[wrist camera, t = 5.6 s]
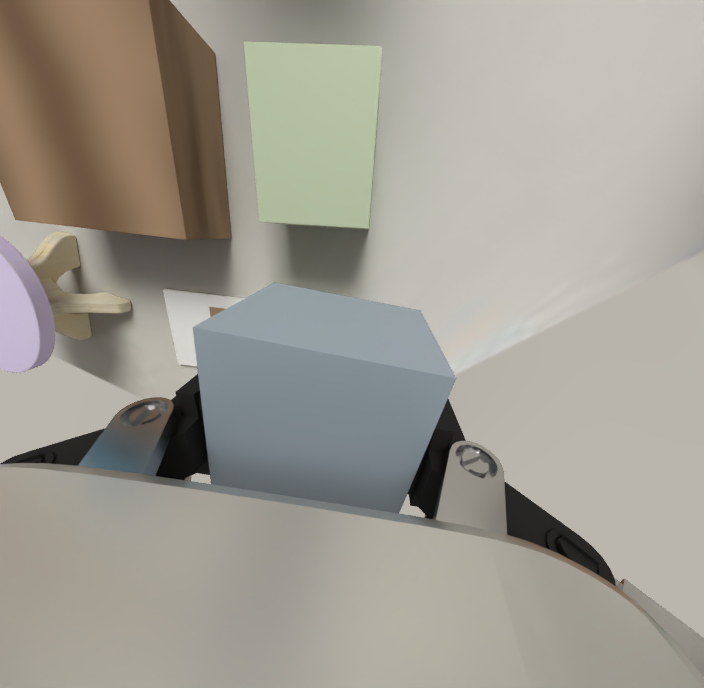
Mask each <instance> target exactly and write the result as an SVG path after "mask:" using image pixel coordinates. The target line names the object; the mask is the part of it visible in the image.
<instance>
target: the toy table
mask: <svg viewBox="0 0 704 688" xmlns="http://www.w3.org/2000/svg"><path fill="white" fill-rule="evenodd" d="M77 267H80V259H79V254H78V248H77V241H76V238H75V236H74V235H71V234H68V233H65V232H60V231H58V232H54V233H52V234H50V235H49V236H48V237H47V238H46V239H45V240H44V241H43V242H42V243H41V244H40V245H39V248H38V249H37V250H36V251H35V253H34V254H33V255H32V256H30V257H29V258H28V259H27V260H26V259H25V258H24V257H23V255H22V254H21V253H20V252H19V251H18V250H17V249H16V248H15V247H14V246H13V245H12V244H11V243H10V242H8V241H7V240H6V239H4V238H3V237H1V236H0V369H2V370H4V371H7V372H12V373H20V372H25V371H27V370H30V369H33V368H35V367H38V366H40V365H42V364H44V363H45V362H46V361H47V360H48V359H49V358H50V356H51V354H52V352H53V349H54V344H55V331H56V332H58V333H61V334H63V335H65V336H68V337H70V338H74V339H77V340H85V339H88V338H89V337H91V336H92V334H91V327H90V321H89V315H88V313H125V312H128V311H130V310H131V302H130V300H128V299H124V298H121V297H118V296H115V295H112V294H109V293H105V292H101V293H94V294H74V293H64V292H63V291H62V289H61V288H60V287H59V286H58V285H57V284H56V282H57V280H58V279H59V277H60V276H61V275H63V274H64V273H65V272H66V271H68V270H71V269H73V268H77Z"/></svg>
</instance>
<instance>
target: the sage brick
mask: <svg viewBox="0 0 704 688" xmlns="http://www.w3.org/2000/svg"><path fill="white" fill-rule="evenodd" d="M244 53H245V65H246V76H247V88H248V99H249V111H250V122H251V134H252V145H253V157H254V168H255V180H256V192H257V203H258V215H259V222H267V223H277V224H286V225H302V226H318V227H335V228H351V229H367V230H369V223H370V210H371V197H372V184H373V171H374V158H375V145H376V132H377V119H378V107H379V92H380V76H381V61H382V46H365V45H336V44H306V43H276V42H246V41H244Z"/></svg>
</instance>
